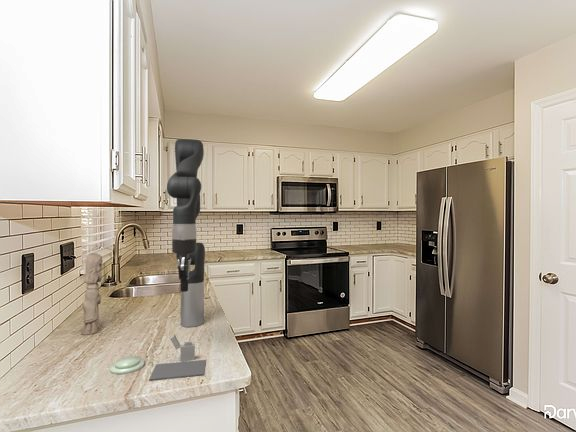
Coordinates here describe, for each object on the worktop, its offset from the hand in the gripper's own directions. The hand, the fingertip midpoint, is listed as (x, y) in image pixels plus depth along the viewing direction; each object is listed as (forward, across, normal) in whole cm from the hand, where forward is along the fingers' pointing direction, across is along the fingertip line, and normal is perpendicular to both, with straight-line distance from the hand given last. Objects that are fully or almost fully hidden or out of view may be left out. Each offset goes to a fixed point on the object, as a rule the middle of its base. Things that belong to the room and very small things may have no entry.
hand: (184, 291), depth 103 cm
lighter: (+20, +7, 0) cm, 21 cm away
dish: (+19, +8, -15) cm, 26 cm away
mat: (+19, +13, 0) cm, 24 cm away
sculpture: (+20, -27, -37) cm, 50 cm away
